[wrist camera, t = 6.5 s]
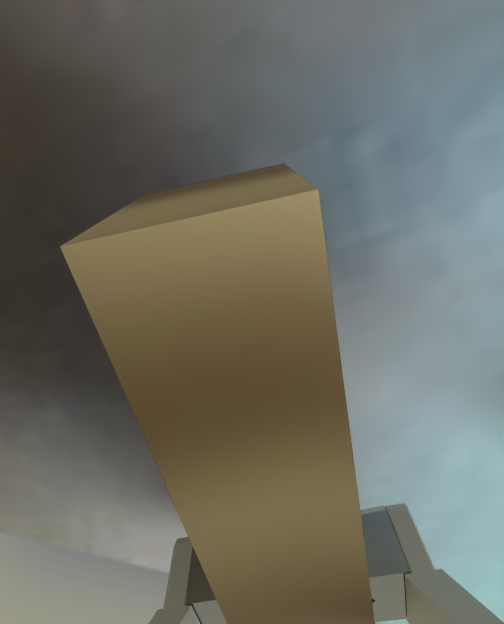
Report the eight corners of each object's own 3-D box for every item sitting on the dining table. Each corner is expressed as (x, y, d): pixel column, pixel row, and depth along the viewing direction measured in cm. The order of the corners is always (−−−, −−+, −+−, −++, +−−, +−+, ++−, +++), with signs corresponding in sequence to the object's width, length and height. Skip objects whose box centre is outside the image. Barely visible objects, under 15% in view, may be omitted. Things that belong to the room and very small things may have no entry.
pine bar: (143, 195, 8) (59, 246, 4) (283, 163, 8) (318, 189, 4) (287, 636, 16) (300, 788, 12) (359, 626, 15) (395, 778, 12)
